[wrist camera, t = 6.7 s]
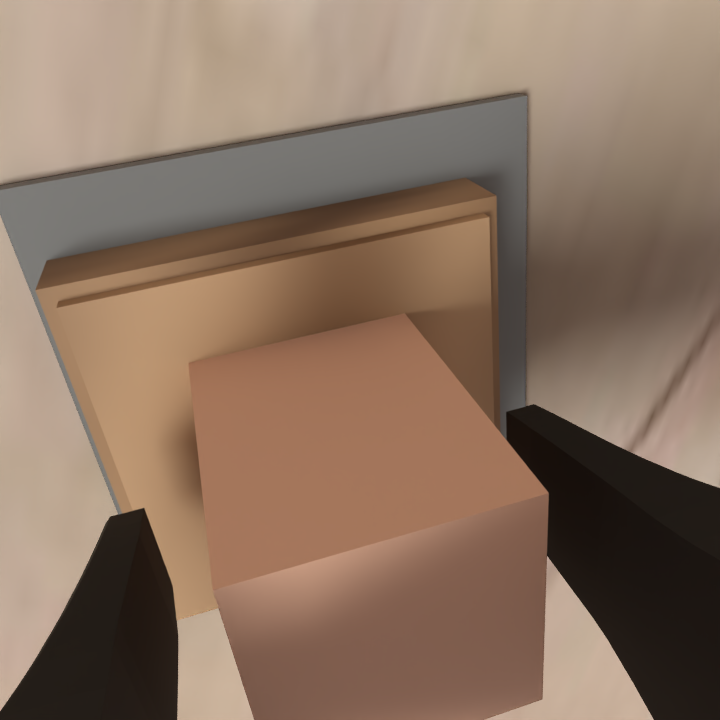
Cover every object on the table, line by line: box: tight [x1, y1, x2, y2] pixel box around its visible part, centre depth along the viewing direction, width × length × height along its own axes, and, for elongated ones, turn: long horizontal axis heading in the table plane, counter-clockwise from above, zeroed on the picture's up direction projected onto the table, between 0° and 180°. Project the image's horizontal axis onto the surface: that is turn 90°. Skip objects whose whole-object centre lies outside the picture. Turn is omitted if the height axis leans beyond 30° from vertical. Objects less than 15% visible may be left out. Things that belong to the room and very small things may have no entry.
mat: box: [0, 93, 527, 515], centre depth 17 cm, size 11×12×1 cm
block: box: [188, 313, 549, 720], centre depth 12 cm, size 4×4×6 cm
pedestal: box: [35, 178, 501, 620], centre depth 16 cm, size 9×9×2 cm
